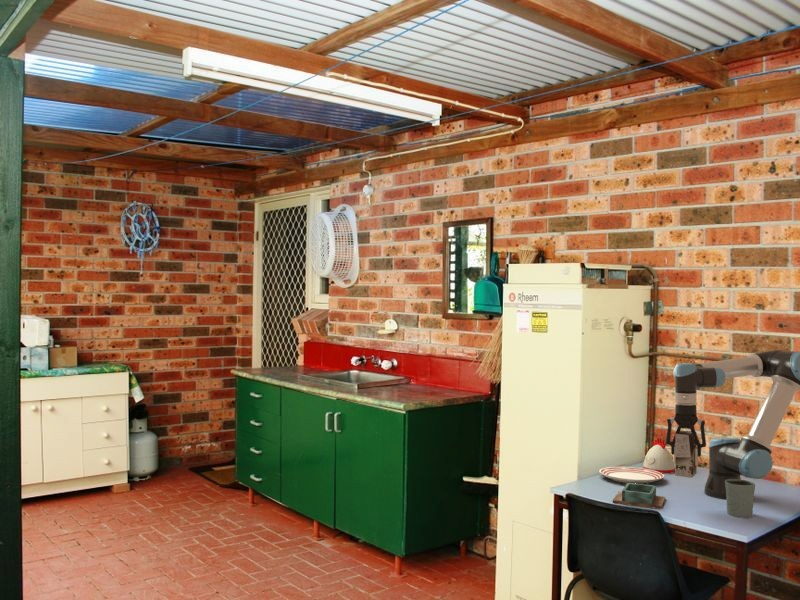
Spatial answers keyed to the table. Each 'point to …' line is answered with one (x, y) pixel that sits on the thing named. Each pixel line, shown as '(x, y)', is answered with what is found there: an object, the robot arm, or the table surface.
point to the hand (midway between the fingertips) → (686, 463)
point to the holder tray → (639, 496)
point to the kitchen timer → (659, 458)
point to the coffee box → (685, 454)
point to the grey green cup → (739, 497)
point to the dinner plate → (631, 474)
